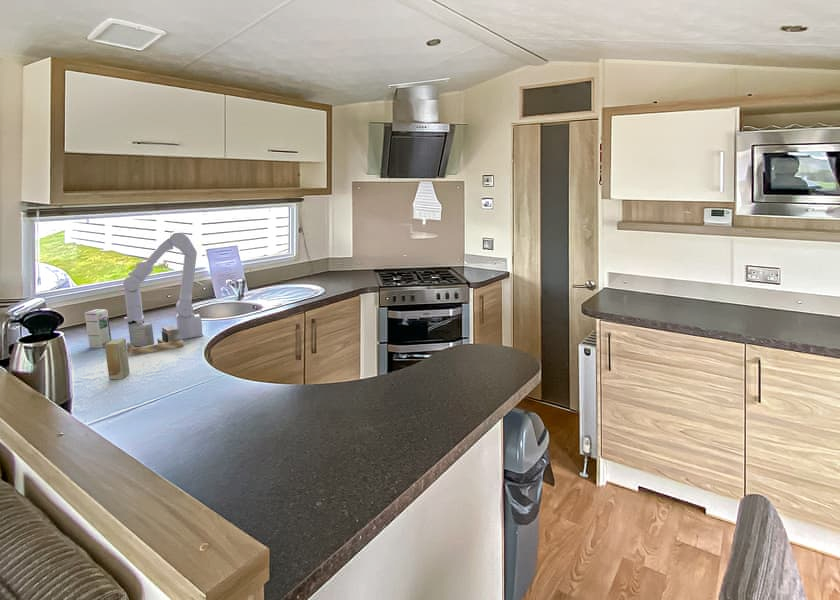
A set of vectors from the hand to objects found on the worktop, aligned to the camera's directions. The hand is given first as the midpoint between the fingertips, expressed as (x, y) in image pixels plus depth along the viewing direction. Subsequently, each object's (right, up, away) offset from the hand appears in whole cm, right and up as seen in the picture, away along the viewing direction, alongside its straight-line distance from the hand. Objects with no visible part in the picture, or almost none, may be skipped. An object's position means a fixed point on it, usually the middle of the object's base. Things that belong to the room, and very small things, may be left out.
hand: (137, 338), depth 229 cm
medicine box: (+4, -3, -5) cm, 7 cm away
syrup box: (-12, -3, -5) cm, 13 cm away
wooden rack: (+11, -3, -10) cm, 15 cm away
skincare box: (+16, -10, -44) cm, 48 cm away
